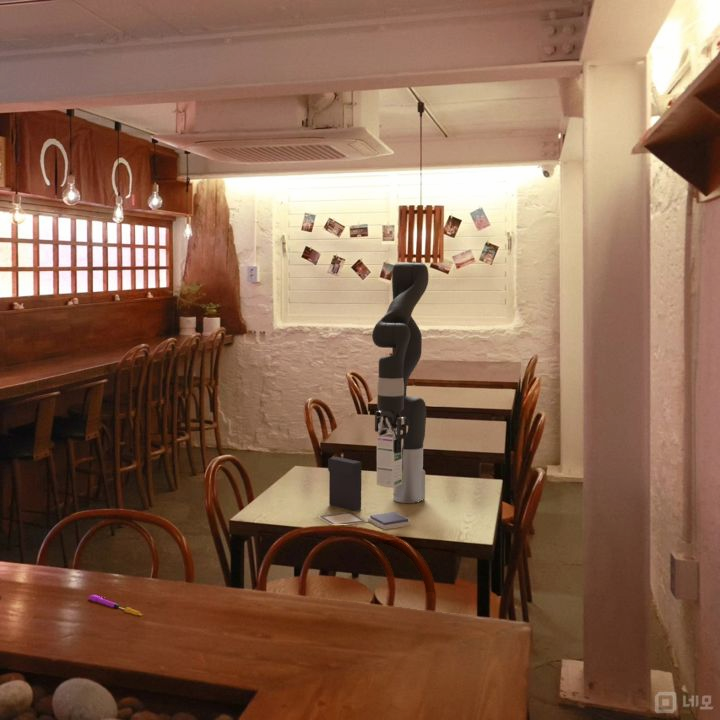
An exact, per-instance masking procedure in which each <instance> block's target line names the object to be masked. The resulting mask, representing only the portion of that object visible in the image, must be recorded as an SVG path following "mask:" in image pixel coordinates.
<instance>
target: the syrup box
mask: <svg viewBox="0 0 720 720" xmlns="http://www.w3.org/2000/svg"><path fill="white" fill-rule="evenodd" d="M396 435H397V433H396ZM393 440H394V438H393V435H392V433H390V432H387V433H386V434H383V435H380V436H379V435H377V436H376V486H380V487H384V488H392V489H394V487H396V486H398V485H401V484H403V439H402V441H401V452H400V453H394V452H393Z"/></svg>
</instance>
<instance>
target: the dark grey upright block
mask: <svg viewBox="0 0 720 720" xmlns="http://www.w3.org/2000/svg"><path fill="white" fill-rule="evenodd" d="M327 469H328V470H327V471H328V473H329V476H328V478H329V487H328V488H329V497H328V498H329V500H328V501H329V502H328V503H329V504H328V505H329V506H331V507H335V508H339V509H342V510H346V511H348V512H352V513H355V512H358V510H359V511H361V510H362V461H358V460H354V459H353V460H352V459H349V458H344V457H341V456H334V457H330V458H328V459H327Z"/></svg>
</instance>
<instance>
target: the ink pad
mask: <svg viewBox="0 0 720 720" xmlns="http://www.w3.org/2000/svg"><path fill="white" fill-rule="evenodd" d="M367 522H369V523H371V524H372V525H374V524H375V526H377V527H378V528H380V529H382V530H387V529H388V530H389V529H395V528H401V527H407V526H411V525H412V524H411V523H412V522H411V521H410V520H409V518H407V517H405V516H403V515H401V514H399V513H397V512H395V511H392V512H386V513H385V512H384V513H378V514H377V513H376V514H373V515H371V514H370V517H369V516H368V517H367Z"/></svg>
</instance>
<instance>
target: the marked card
mask: <svg viewBox="0 0 720 720" xmlns="http://www.w3.org/2000/svg"><path fill="white" fill-rule="evenodd" d="M318 519H320V520H322V521H324V522H325V523H327V524H329V525H330V524H351V525H356V524H355V523H357V524H362V523H367V522H368V520H365V519H364V518H362V517H361V516H358V515H357V514H354V512H352V511H345V512H339V513H333V514H332V513H331V514H326V515H324V514H323V515H320V516H318Z"/></svg>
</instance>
